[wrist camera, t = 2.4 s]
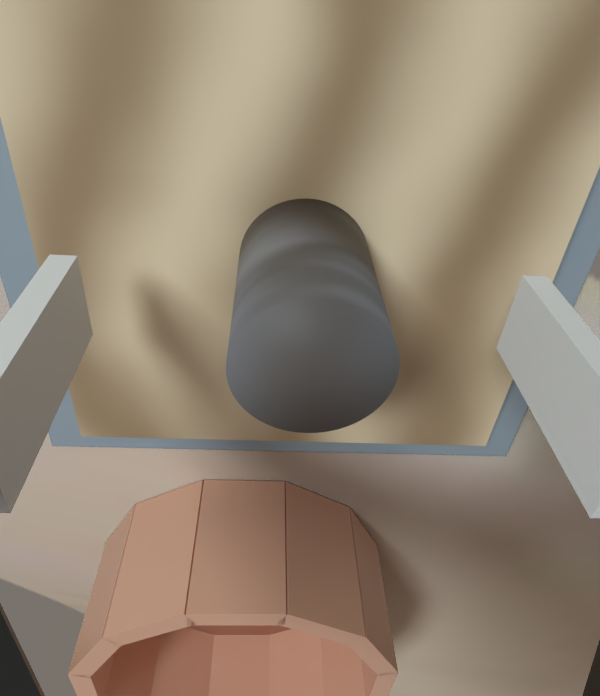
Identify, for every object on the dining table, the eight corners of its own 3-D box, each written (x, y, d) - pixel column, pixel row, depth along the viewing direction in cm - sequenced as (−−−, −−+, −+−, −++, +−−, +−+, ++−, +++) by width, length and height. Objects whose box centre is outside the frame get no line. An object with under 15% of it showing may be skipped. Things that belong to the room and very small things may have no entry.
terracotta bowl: (394, 483, 29) (422, 614, 23) (354, 627, 38) (368, 743, 33) (88, 477, 28) (40, 613, 22) (127, 627, 37) (100, 747, 32)
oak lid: (658, -42, 14) (906, -31, 9) (477, 427, 25) (536, 568, 20) (-34, -106, 13) (-270, -141, 8) (88, 416, 24) (29, 564, 18)
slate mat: (754, -131, 14) (770, -133, 13) (501, 447, 27) (505, 456, 27) (-138, -224, 12) (-154, -231, 12) (56, 436, 26) (52, 446, 25)
